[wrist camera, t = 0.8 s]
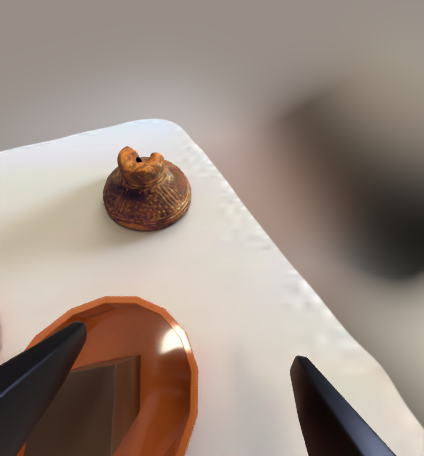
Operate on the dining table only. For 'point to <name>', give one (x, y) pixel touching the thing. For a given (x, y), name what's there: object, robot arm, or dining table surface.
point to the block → (90, 411)
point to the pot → (142, 368)
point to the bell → (146, 191)
